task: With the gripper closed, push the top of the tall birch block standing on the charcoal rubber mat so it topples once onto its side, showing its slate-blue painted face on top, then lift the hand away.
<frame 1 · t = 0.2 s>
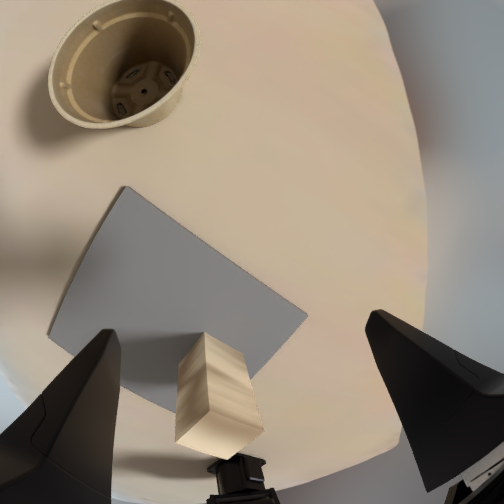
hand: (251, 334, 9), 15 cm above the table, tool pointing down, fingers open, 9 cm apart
birch block: (210, 359, 25), point 1 cm above the table, touching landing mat
flower pot: (144, 93, 19), on the table
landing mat: (166, 330, 25), on the table
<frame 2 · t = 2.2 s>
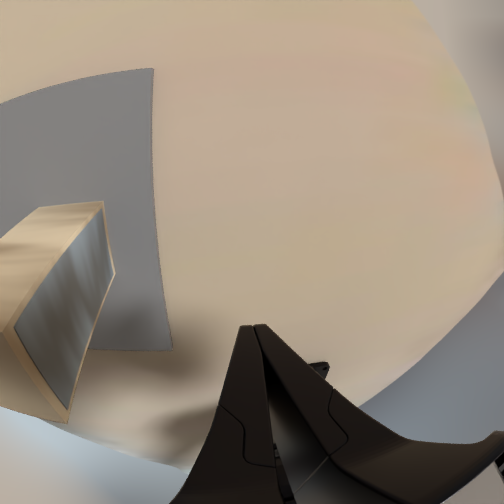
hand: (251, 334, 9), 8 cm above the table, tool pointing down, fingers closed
birch block: (75, 240, 14), point 1 cm above the table, touching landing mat
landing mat: (19, 240, 13), on the table
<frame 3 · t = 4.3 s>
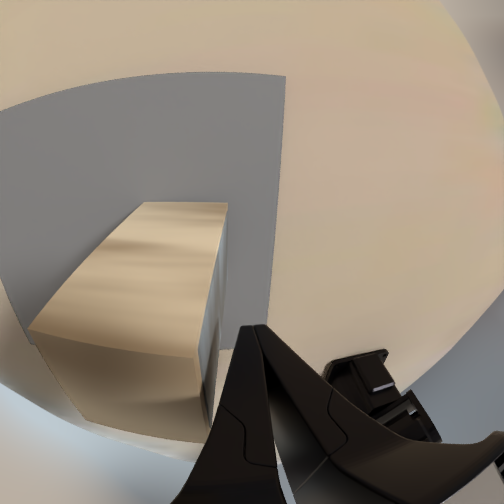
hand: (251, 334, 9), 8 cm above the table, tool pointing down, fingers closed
birch block: (186, 241, 15), point 1 cm above the table, tilted 9°, touching gripper, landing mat
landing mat: (106, 238, 15), on the table
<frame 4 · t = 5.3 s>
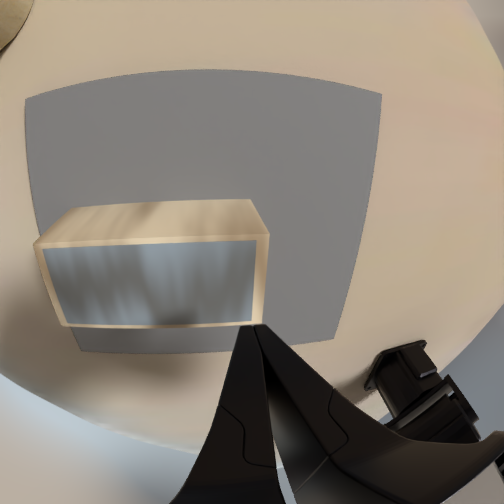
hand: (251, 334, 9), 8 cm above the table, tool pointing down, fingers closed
birch block: (255, 257, 14), point 3 cm above the table, tilted 90°, touching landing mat
flower pot: (1, 20, 6), on the table
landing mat: (199, 235, 16), on the table
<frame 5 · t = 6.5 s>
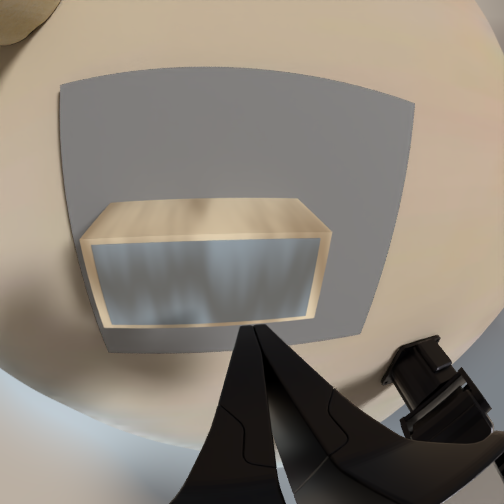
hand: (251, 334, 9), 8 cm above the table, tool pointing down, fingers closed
birch block: (306, 254, 14), point 3 cm above the table, tilted 90°, touching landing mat
flower pot: (28, 3, 6), on the table
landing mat: (244, 232, 16), on the table
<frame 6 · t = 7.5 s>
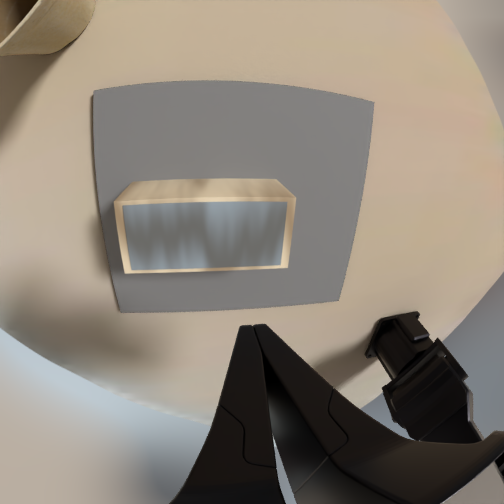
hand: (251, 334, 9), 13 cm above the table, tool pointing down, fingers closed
birch block: (281, 220, 18), point 3 cm above the table, tilted 90°, touching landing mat
flower pot: (60, 20, 11), on the table
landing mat: (235, 206, 20), on the table
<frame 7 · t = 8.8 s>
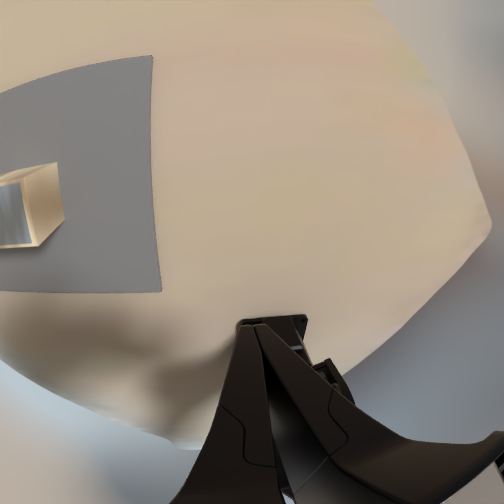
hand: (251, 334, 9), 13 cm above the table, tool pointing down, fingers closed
birch block: (46, 201, 15), point 3 cm above the table, tilted 90°, touching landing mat
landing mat: (37, 192, 17), on the table
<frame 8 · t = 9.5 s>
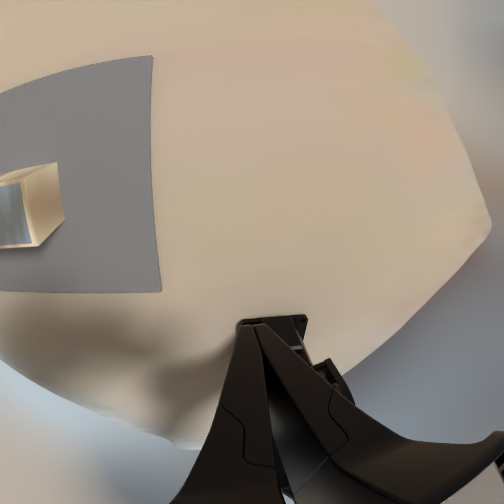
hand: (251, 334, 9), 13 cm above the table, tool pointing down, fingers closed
birch block: (46, 201, 15), point 3 cm above the table, tilted 90°, touching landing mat
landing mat: (37, 193, 17), on the table
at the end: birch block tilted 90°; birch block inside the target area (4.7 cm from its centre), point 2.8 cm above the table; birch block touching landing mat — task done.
